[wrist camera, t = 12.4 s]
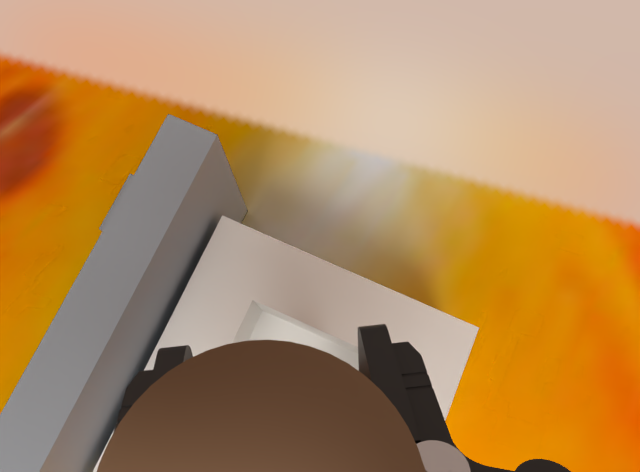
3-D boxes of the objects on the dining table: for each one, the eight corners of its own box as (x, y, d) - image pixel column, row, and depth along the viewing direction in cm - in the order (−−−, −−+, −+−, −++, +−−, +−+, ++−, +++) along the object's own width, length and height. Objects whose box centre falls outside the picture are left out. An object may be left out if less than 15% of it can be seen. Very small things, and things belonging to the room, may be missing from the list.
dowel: (323, 505, 18) (352, 789, 6) (207, 450, 18) (20, 617, 6) (372, 382, 19) (480, 420, 7) (261, 332, 19) (185, 288, 7)
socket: (355, 565, 25) (370, 628, 19) (134, 458, 26) (84, 487, 20) (442, 334, 28) (479, 327, 22) (239, 244, 29) (222, 215, 23)
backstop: (62, 585, 24) (-101, 736, 15) (-31, 538, 25) (-250, 655, 15) (247, 210, 29) (217, 134, 19) (166, 175, 29) (96, 83, 19)
